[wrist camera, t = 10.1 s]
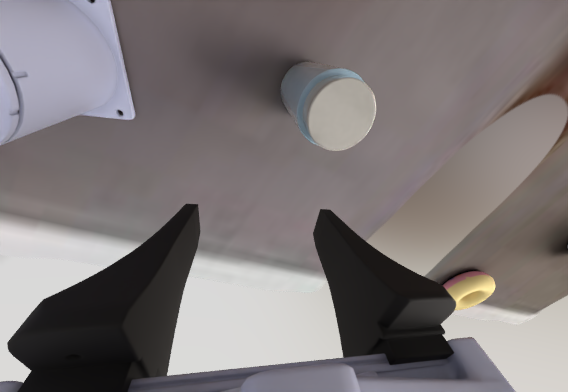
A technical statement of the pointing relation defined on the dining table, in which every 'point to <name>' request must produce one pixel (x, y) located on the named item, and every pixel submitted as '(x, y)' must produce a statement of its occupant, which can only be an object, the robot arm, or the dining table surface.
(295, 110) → the shaker
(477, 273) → the donut
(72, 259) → the dining table surface
